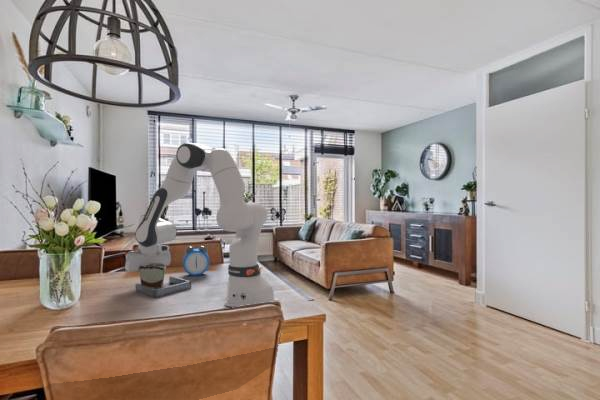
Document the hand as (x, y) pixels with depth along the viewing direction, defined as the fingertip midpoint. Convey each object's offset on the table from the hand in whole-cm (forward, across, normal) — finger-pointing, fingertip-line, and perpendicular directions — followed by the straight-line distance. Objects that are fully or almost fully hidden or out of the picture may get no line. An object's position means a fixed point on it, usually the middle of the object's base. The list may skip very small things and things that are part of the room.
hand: (148, 277), depth 148 cm
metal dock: (+3, 0, -13) cm, 13 cm away
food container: (+3, 0, -5) cm, 6 cm away
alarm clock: (+3, +24, -3) cm, 24 cm away
